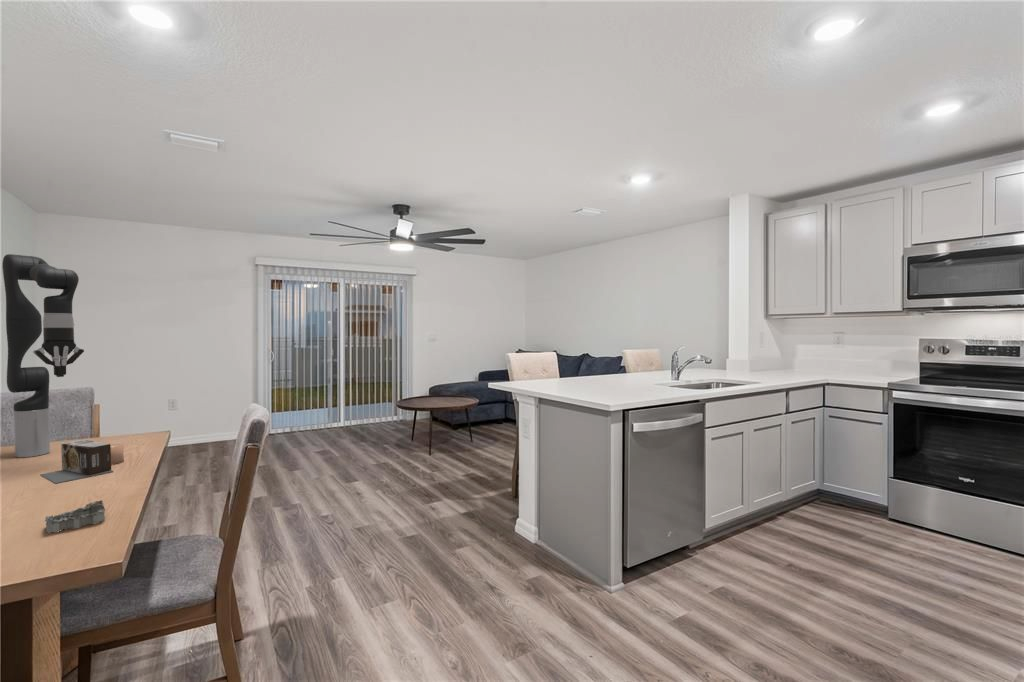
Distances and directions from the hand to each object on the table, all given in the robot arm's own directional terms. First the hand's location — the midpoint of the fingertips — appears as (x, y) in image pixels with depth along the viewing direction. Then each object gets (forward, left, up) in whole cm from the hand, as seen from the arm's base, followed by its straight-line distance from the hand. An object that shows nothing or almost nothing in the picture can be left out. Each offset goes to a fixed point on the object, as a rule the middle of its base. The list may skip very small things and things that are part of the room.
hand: (60, 376), depth 160 cm
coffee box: (+7, +1, -26) cm, 27 cm away
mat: (+16, 0, -31) cm, 35 cm away
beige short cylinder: (+10, +11, -31) cm, 34 cm away
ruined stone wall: (+69, -14, -32) cm, 77 cm away
